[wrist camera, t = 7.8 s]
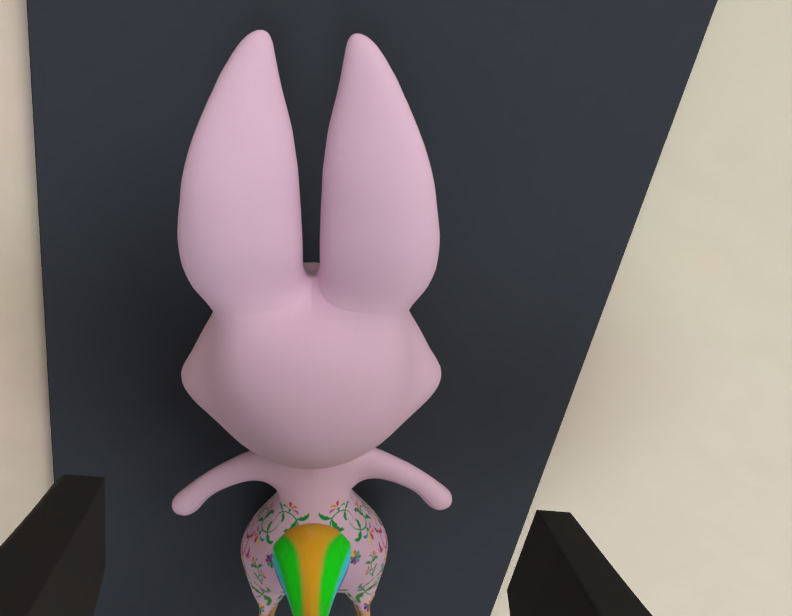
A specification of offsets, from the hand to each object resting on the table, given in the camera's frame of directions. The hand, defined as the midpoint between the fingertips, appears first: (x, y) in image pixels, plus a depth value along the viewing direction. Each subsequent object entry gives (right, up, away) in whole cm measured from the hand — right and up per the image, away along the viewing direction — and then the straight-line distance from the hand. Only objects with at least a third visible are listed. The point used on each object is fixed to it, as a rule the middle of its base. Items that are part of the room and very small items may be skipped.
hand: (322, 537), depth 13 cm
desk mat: (0, +3, +5) cm, 5 cm away
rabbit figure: (-1, +3, +4) cm, 5 cm away
